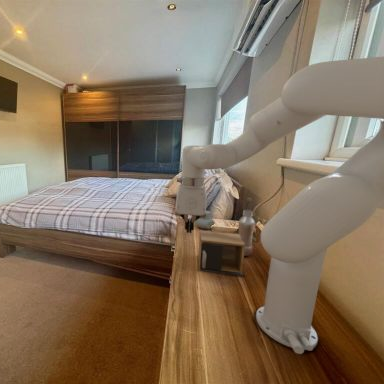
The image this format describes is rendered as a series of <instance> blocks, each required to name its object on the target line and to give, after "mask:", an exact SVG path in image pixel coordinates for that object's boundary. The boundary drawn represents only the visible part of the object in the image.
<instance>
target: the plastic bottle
mask: <svg viewBox="0 0 384 384" xmlns="http://www.w3.org/2000/svg"><path fill="white" fill-rule="evenodd" d="M253 217H254V211H253V210H251V209H250V210H246V209H243V211H242V216H241V217H240V218H239V220H238V228H239V235H240V237H241V239H242V240H243V242H244V243H245V251H244V257H248V256H251V255H252V254H253V250H254V249H253V241H252V237H253V232H254V231H255V228H256V225H257V224H256V221H255V219H254V218H253Z"/></svg>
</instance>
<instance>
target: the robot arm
mask: <svg viewBox="0 0 384 384" xmlns="http://www.w3.org/2000/svg"><path fill="white" fill-rule="evenodd" d="M280 94H281V95H280V97H278V98H277V99H275V100H274V101H272V102H271V103H269V104H268V105H267V106H264V107H263V108H262V109H260V110H258V111H257V112H256V113H254V114H253V115H252V116H251V117H250V119H249V123H248V126H247V129H246V130H245V131H244V132H243V133H241V134H240V135H239V136H237V137H236V138H234V139H232V140H230V141H229V142H228V143H225V144H223V143H222V144H221V143H220V144H219V143H217V144H216V143H212V144H210V143H209V144H203V145H186V146H184V147H183V148H182V153H181V155H182V156H181V172H180V174H181V176H180V177H177V178H176V183H179V185H178V186H177V191H176V199H175V201H176V202H175V211H174V216H177V217H181V218H182V220H183V221H184V230H185V231H186V233H187V234H188V233H189V234H192V232H193V231H194V228H195V221H196V220H198V219H199V218H205V217H206V211H207V198H208V197H207V187H206V186H205V185H204V184H205V170H218V169H226V168H227V169H228V168H231V167H233V166H235V165H238V164H240V163H242V162H243V161H245V160H248V159H250V158H251V157H254V156H255V155H257V154H259V153H260V152H261V151H263V150H264V149H266V148H267V147H268V146H269V145H271V144H273V143H275V142H277V141H279V140H281V139H283V138H285V137H287V136H289V135H290V134H292V133H295V132H296V131H298V130H300V129H302V128H304V127H307V126H308V125H310V124H312V123H315V122H316V121H318V120H320V119H322V118H324V117H326V116H335V117H349V118H366V119H376V120H377V121H378V122H379V127H378V130H377V131H376V132H375V134H374V135H373V136H372V137H371V138H370V139H369V140H368V141H366V143H365V144H363V145H362V146H361V147H360V148H358V149H357V151H355V152H354V153H353V154H352V155H351V157H349V158H348V159H346V161H345V162H343V163H342V164H341V165H340V166H339V167H337V168H336V169H335V170H334V171H333V172H331V173H329V174H328V175H326V176H323V177H320V178H318V179H316V180H313V181H312V182H310V183H308V185H306V186H305V187H304V188H303V189H302V190H300V191H299V192H298V193H297V194H296V195H295V196H294V197H293V198H291V200H289V201H288V202H287V203H286V204H285V205H284V206H283V207H281V209H280V210H278V211H277V212H276V213H275V214H274V215H273V216H272V217H271V218H270V219H269V220H268V221H266V223H265V224H264V225H263V227H262V229H261V231H260V242H261V245H262V247H263V249H264V251H265V252H266V253H267V254H268V255H269V256H270V262H269V269H268V275H267V282H266V290H265V298H264V304H263V306H261V307H259V308H258V309H257V310H256V313H255V319H256V322H257V324H258V326H259V327H260V328H261V330H262V331H263V332H264V333H265V334H267V336H269V338H271V339H273V340H274V341H276V342H278V343H279V344H281V345H283V346H286V347H288V348H291V349H292V350H293V352H294V353H295V354H298V355H302V354H303V353H305V351H311V352H312V351H313V350H314V348H316V347H317V345H318V342H319V336H318V333H317V332H316V330H315V329H314V327H313V326H312V323H313V316H314V312H315V306H316V301H317V298H318V297H317V296H318V292H319V287H320V286H319V285H320V282H321V278H322V273H323V268H324V263H325V259H326V255H327V252H328V248H330V247H332V246H333V245H335V244H336V243H338V242H340V241H341V240H342V239H344V238H345V237H346V236H349V235H350V234H351V233H353V232H354V231H356V230H357V229H358V228H360V227H361V226H363V225H365V223H367V221H369V220H370V219H371V218H372V217H373V215H374V214H375V212H376V211H377V209H378V208H379V206H380V205H381V204H382V203H383V202H384V55H383V56H374V57H363V58H351V59H340V60H329V61H320V62H317V63H312V64H309V65H307V66H305V67H302V68H301V69H299V70H297V71H296V72H295V73H294V74H292V75H291V76H290V77H289V78H288V80H287V81H286V82H285V84H284V85H283V87H282V90H281V93H280ZM189 216H191V218H189Z"/></svg>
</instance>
